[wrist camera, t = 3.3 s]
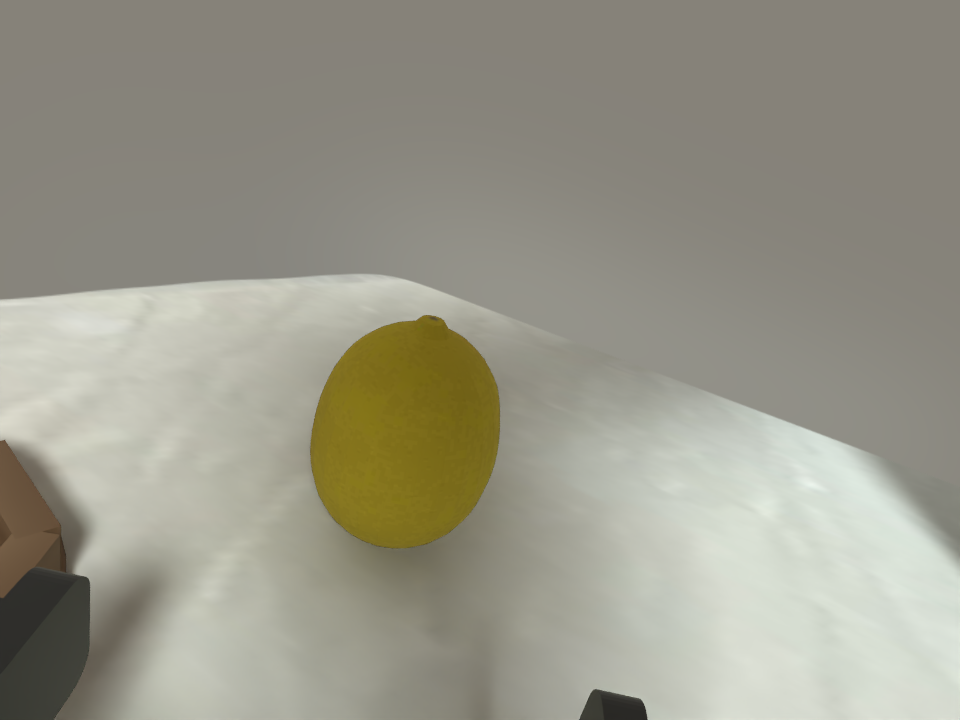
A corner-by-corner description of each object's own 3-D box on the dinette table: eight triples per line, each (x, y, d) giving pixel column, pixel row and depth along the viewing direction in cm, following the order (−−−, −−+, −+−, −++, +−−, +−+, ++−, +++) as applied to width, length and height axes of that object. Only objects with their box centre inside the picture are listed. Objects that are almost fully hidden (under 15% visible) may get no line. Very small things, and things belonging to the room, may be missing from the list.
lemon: (499, 562, 24) (568, 347, 20) (365, 634, 20) (424, 381, 16) (394, 472, 27) (439, 273, 24) (260, 518, 23) (292, 286, 20)
